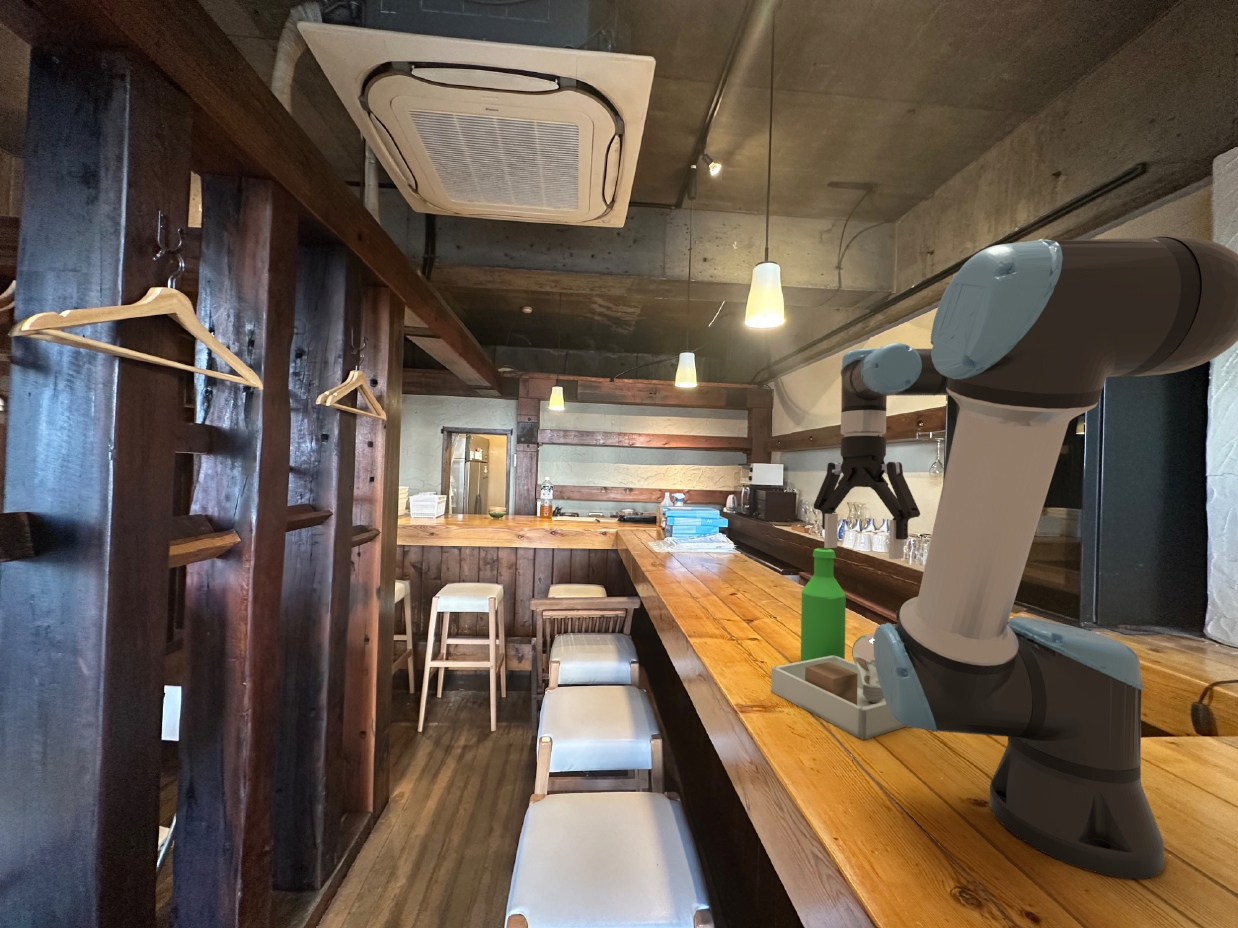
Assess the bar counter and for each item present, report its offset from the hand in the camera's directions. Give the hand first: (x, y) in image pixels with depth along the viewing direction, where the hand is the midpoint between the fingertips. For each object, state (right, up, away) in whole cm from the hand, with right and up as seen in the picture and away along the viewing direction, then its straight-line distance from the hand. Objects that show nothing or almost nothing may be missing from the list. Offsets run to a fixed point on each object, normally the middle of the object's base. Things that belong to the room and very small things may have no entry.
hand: (861, 552), depth 94 cm
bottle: (-1, -27, +16) cm, 32 cm away
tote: (-4, -27, -2) cm, 27 cm away
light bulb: (+1, -26, -3) cm, 26 cm away
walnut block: (-7, -26, -4) cm, 27 cm away
